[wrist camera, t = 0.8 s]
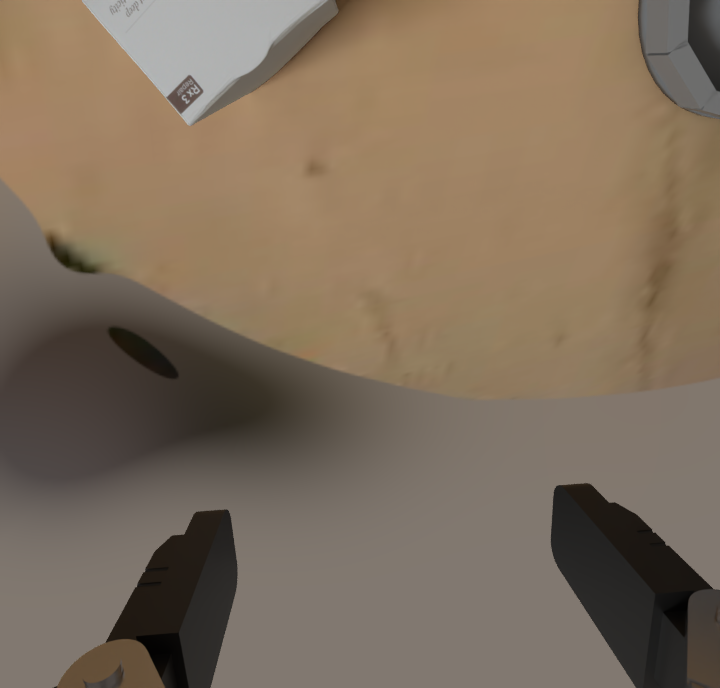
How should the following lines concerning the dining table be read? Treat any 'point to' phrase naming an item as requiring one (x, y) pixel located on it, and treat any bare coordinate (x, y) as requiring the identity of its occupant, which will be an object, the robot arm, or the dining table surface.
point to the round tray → (695, 39)
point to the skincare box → (210, 44)
